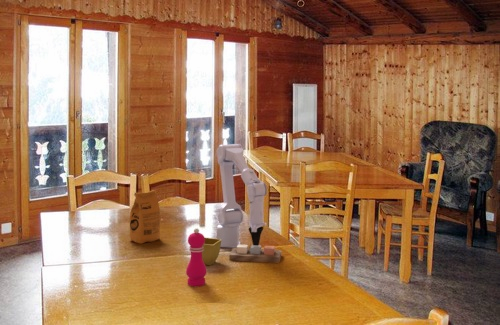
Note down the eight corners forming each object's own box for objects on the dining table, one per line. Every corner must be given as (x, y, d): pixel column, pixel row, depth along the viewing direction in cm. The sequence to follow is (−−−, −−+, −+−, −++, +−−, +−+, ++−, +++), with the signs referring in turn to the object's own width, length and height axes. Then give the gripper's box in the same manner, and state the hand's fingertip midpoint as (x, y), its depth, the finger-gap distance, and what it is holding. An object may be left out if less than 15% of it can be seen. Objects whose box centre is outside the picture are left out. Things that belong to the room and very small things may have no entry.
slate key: (250, 254, 243) (250, 247, 243) (251, 252, 247) (251, 244, 246) (260, 255, 242) (260, 248, 242) (261, 252, 246) (261, 245, 246)
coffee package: (126, 240, 269) (125, 191, 265) (150, 235, 277) (149, 188, 274) (139, 244, 261) (138, 194, 258) (162, 239, 270) (162, 191, 267)
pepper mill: (186, 280, 217) (186, 226, 214) (206, 280, 218) (206, 225, 215) (185, 287, 210) (185, 231, 207) (206, 286, 210) (206, 231, 208)
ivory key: (236, 254, 244) (236, 247, 243) (238, 251, 248) (238, 244, 247) (246, 254, 243) (246, 247, 243) (247, 251, 247) (247, 244, 247)
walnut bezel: (229, 260, 241) (229, 254, 241) (233, 252, 251) (233, 247, 251) (279, 262, 239) (279, 257, 238) (281, 255, 249) (281, 250, 248)
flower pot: (221, 261, 240) (221, 239, 239) (213, 267, 232) (213, 244, 231) (201, 258, 243) (201, 236, 242) (192, 264, 235) (192, 242, 233)
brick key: (263, 255, 242) (263, 248, 242) (264, 252, 246) (265, 245, 246) (273, 256, 242) (273, 248, 241) (274, 253, 246) (274, 246, 245)
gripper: (264, 216, 235) (263, 250, 237) (268, 208, 249) (267, 240, 251) (246, 215, 236) (246, 249, 237) (251, 208, 250) (250, 239, 252)
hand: (255, 245), depth 244 cm, fingers closed
